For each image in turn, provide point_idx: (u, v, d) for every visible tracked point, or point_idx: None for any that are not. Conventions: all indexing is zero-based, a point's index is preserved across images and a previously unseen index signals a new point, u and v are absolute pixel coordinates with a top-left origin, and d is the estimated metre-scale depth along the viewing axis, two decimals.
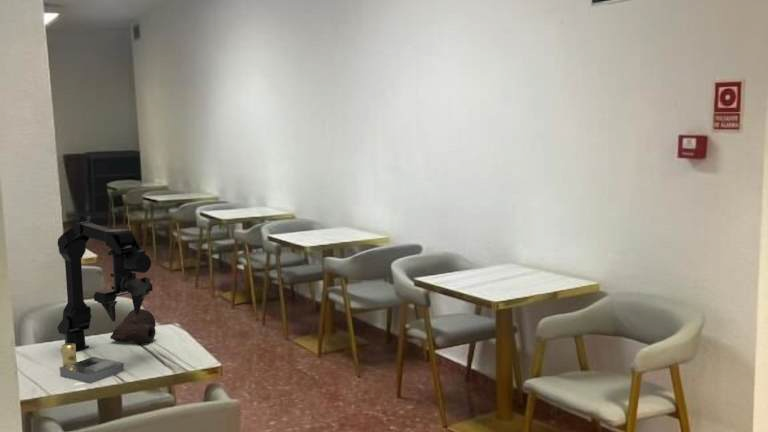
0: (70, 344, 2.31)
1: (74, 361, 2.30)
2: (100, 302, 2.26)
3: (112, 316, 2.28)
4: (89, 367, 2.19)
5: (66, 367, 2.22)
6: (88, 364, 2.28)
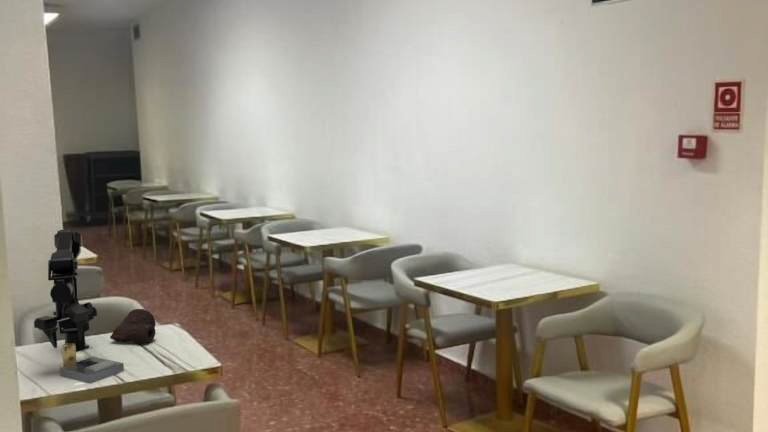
0: (70, 344, 2.31)
1: (74, 361, 2.30)
2: (41, 329, 2.23)
3: (53, 343, 2.25)
4: (89, 367, 2.19)
5: (66, 367, 2.22)
6: (88, 364, 2.28)
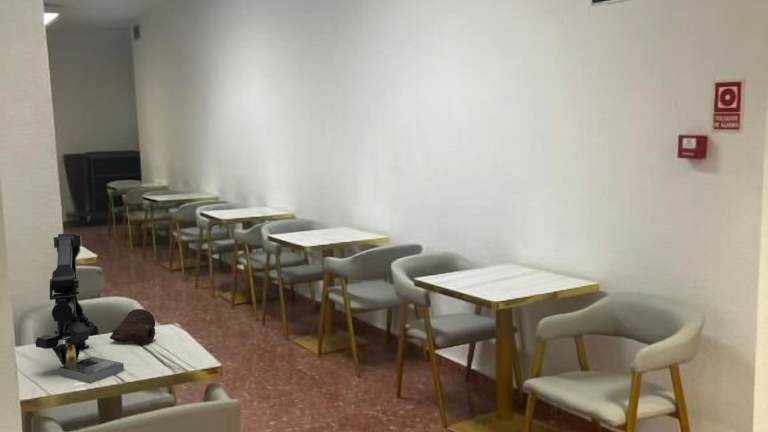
0: (70, 344, 2.31)
1: (74, 361, 2.30)
2: None
3: (62, 359, 2.28)
4: (89, 367, 2.19)
5: (66, 367, 2.22)
6: (88, 364, 2.28)
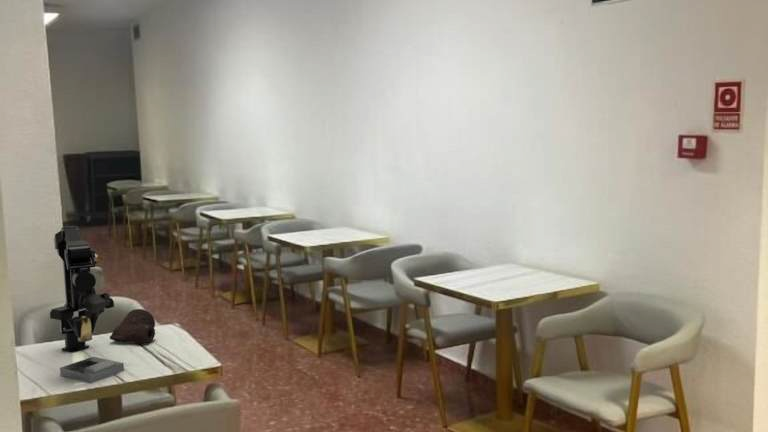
0: (85, 317, 2.23)
1: (89, 334, 2.23)
2: None
3: (77, 332, 2.21)
4: (89, 367, 2.19)
5: (66, 367, 2.22)
6: (88, 364, 2.28)
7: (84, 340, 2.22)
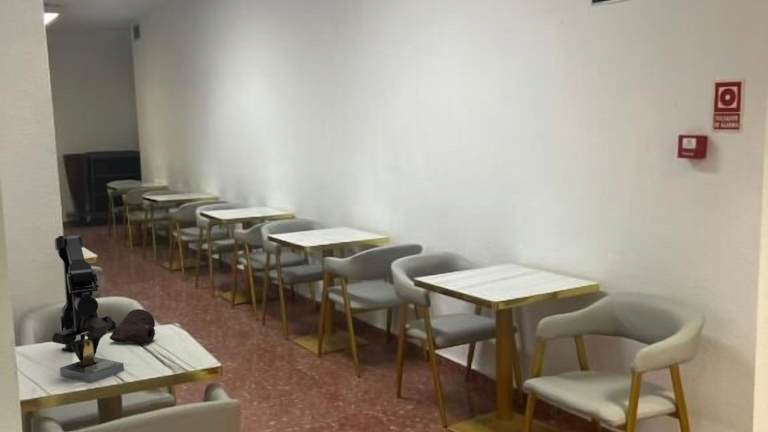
0: (87, 339, 2.24)
1: (91, 357, 2.24)
2: None
3: (79, 355, 2.22)
4: (89, 367, 2.19)
5: (66, 367, 2.22)
6: (88, 364, 2.28)
7: (86, 363, 2.23)
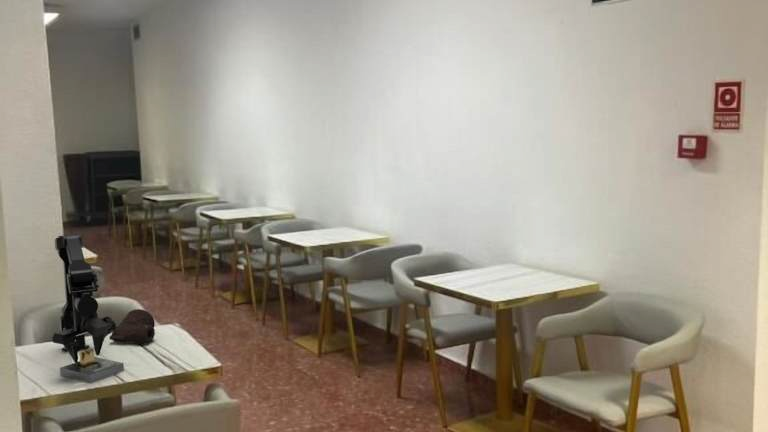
0: (88, 349, 2.25)
1: None
2: None
3: (74, 357, 2.20)
4: (89, 367, 2.19)
5: (66, 367, 2.22)
6: None
7: None
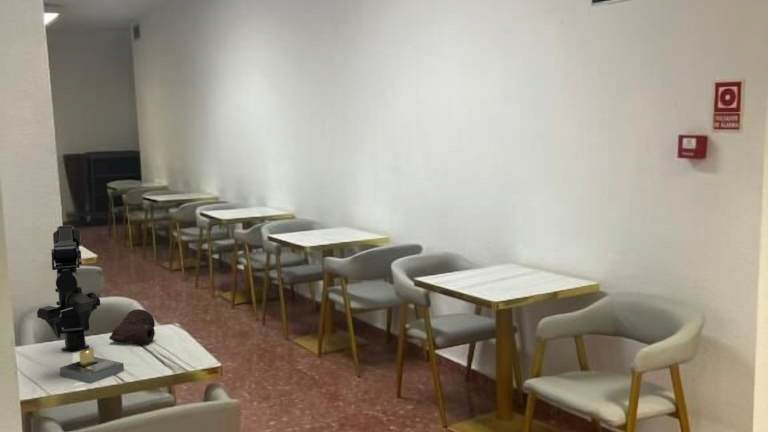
0: (88, 349, 2.25)
1: None
2: (44, 319, 2.20)
3: (57, 333, 2.22)
4: (89, 367, 2.19)
5: (66, 367, 2.22)
6: None
7: None
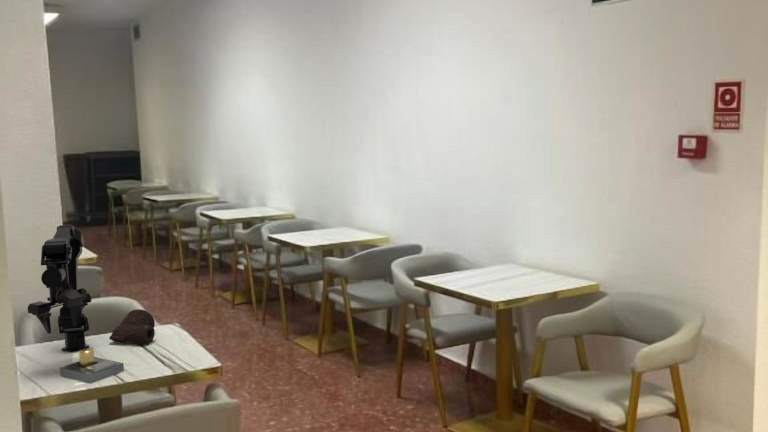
0: (88, 349, 2.25)
1: None
2: (34, 314, 2.22)
3: (47, 328, 2.24)
4: (89, 367, 2.19)
5: (66, 367, 2.22)
6: None
7: None
